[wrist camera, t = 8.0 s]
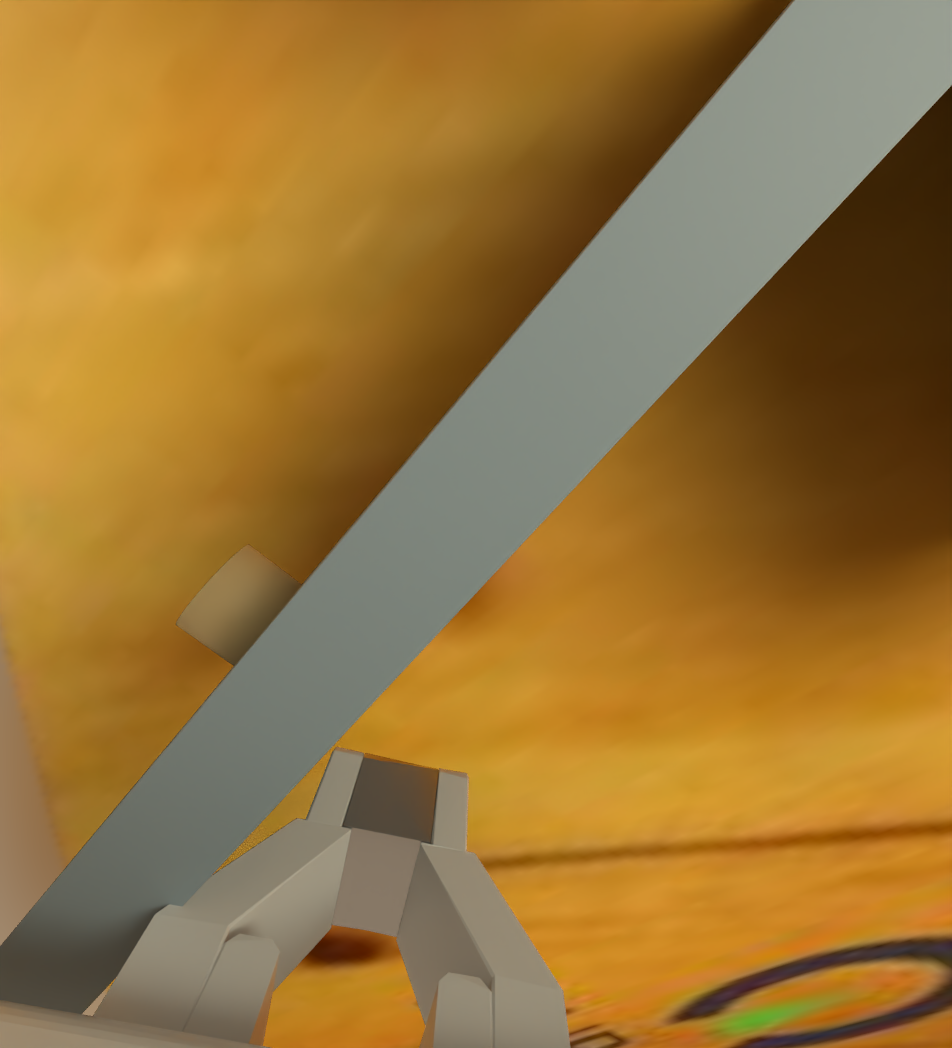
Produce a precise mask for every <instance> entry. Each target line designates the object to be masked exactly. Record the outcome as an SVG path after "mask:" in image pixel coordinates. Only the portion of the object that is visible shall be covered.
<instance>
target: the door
mask: <svg viewBox="0 0 952 1048" xmlns="http://www.w3.org/2000/svg"><path fill="white" fill-rule="evenodd" d="M951 85H952V0H792V1H791V2H790V3H789V4H788V6H787V7H786V8H785V9H784V10H783V12H782V13H781V14H780V15H779V16H778V18H777V19H776V20H775V21H774V22H773V24H772V25H771V26H770V27H769V28H768V29H767V31H766V32H765V33H764V34H763V35H762V37H761V38H760V39H759V40H758V41H757V43H756V44H755V45H754V46H753V47H752V49H751V50H750V51H749V52H748V53H747V55H746V56H745V57H744V58H743V59H742V60H741V62H740V63H739V64H738V65H737V66H736V68H735V69H734V70H733V71H732V72H731V74H730V75H729V76H728V77H727V78H726V80H725V81H724V82H723V83H722V84H721V86H720V87H719V88H718V89H717V90H716V91H715V93H714V94H713V95H712V96H711V97H710V99H709V100H708V101H707V102H706V103H705V105H704V106H703V107H702V108H701V109H700V111H699V112H698V113H697V114H696V115H695V117H694V118H693V119H692V120H691V121H690V122H689V124H688V125H687V126H686V127H685V128H684V130H683V131H682V132H681V133H680V134H679V136H678V137H677V138H676V139H675V140H674V142H673V143H672V144H671V145H670V146H669V148H668V149H667V150H666V151H665V152H664V153H663V155H662V156H661V157H660V158H659V159H658V161H657V162H656V163H655V164H654V165H653V167H652V168H651V169H650V170H649V171H648V173H647V174H646V175H645V176H644V177H643V179H642V180H641V181H640V182H639V183H638V184H637V186H636V187H635V188H634V189H633V190H632V192H631V193H630V194H629V195H628V196H627V198H626V199H625V200H624V201H623V202H622V204H621V205H620V206H619V207H618V208H617V210H616V211H615V212H614V213H613V214H612V215H611V217H610V218H609V219H608V220H607V221H606V223H605V224H604V225H603V226H602V227H601V229H600V230H599V231H598V232H597V233H596V235H595V236H594V237H593V238H592V239H591V241H590V242H589V243H588V244H587V245H586V247H585V248H584V249H583V250H582V251H581V252H580V254H579V255H578V256H577V257H576V258H575V260H574V261H573V262H572V263H571V264H570V266H569V267H568V268H567V269H566V270H565V272H564V273H563V274H562V275H561V276H560V278H559V279H558V280H557V281H556V282H555V283H554V285H553V286H552V287H551V288H550V289H549V291H548V292H547V293H546V294H545V295H544V297H543V298H542V299H541V300H540V301H539V303H538V304H537V305H536V306H535V307H534V309H533V310H532V311H531V312H530V313H529V314H528V316H527V317H526V318H525V319H524V320H523V322H522V323H521V324H520V325H519V326H518V328H517V329H516V330H515V331H514V332H513V334H512V335H511V336H510V337H509V338H508V340H507V341H506V342H505V343H504V344H503V345H502V347H501V348H500V349H499V350H498V351H497V353H496V354H495V355H494V356H493V357H492V359H491V360H490V361H489V362H488V363H487V365H486V366H485V367H484V368H483V369H482V371H481V372H480V373H479V374H478V375H477V376H476V378H475V379H474V380H473V381H472V382H471V384H470V385H469V386H468V387H467V388H466V390H465V391H464V392H463V393H462V394H461V396H460V397H459V398H458V399H457V400H456V402H455V403H454V404H453V405H452V406H451V407H450V409H449V410H448V411H447V412H446V413H445V415H444V416H443V417H442V418H441V419H440V421H439V422H438V423H437V424H436V425H435V427H434V428H433V429H432V430H431V431H430V433H429V434H428V435H427V436H426V437H425V438H424V440H423V441H422V442H421V443H420V444H419V446H418V447H417V448H416V449H415V450H414V452H413V453H412V454H411V455H410V456H409V458H408V459H407V460H406V461H405V462H404V464H403V465H402V466H401V467H400V468H399V470H398V471H397V472H396V473H395V474H394V475H393V477H392V478H391V479H390V480H389V481H388V483H387V484H386V485H385V486H384V487H383V489H382V490H381V491H380V492H379V493H378V495H377V496H376V497H375V498H374V499H373V501H372V502H371V503H370V504H369V505H368V506H367V508H366V509H365V510H364V511H363V512H362V514H361V515H360V516H359V517H358V518H357V520H356V521H355V522H354V523H353V524H352V526H351V527H350V528H349V529H348V530H347V532H346V533H345V534H344V535H343V536H342V537H341V539H340V540H339V541H338V542H337V543H336V545H335V546H334V547H333V548H332V549H331V551H330V552H329V553H328V554H327V555H326V557H325V558H324V559H323V560H322V561H321V563H320V564H319V565H318V566H317V567H316V568H315V570H314V571H313V572H312V573H311V574H310V576H309V577H308V578H307V579H306V580H305V582H304V583H303V584H300V583H299V582H298V581H296V580H295V579H294V578H292V577H291V576H290V575H288V574H287V573H286V572H285V571H283V570H282V569H281V568H279V567H278V566H277V565H275V564H274V563H273V562H271V561H270V560H269V559H267V558H266V557H265V556H263V555H262V554H261V553H259V552H258V551H257V550H256V549H254V548H253V547H252V546H250V545H246V546H245V547H243V548H242V549H241V550H239V551H238V552H237V553H236V554H235V555H234V556H233V557H231V558H230V559H229V560H228V561H227V562H226V563H225V564H224V565H223V566H222V567H221V568H220V569H219V570H218V571H217V572H216V573H215V575H214V576H213V577H212V578H211V579H210V580H209V581H208V582H207V583H206V584H205V585H204V587H203V588H202V589H201V590H200V591H199V592H198V594H197V595H196V596H195V597H194V598H193V600H192V601H191V602H190V603H189V604H188V606H187V607H186V608H185V610H184V611H183V612H182V614H181V615H180V617H179V619H178V620H177V622H176V625H177V626H178V627H180V628H181V629H183V630H184V631H186V632H187V633H188V634H190V635H191V636H193V637H194V638H195V639H197V640H198V641H200V642H201V643H202V644H204V645H205V646H207V647H208V648H209V649H211V650H212V651H214V652H215V653H217V654H218V655H219V656H221V657H222V658H224V659H225V660H226V661H228V662H229V663H231V664H232V665H233V666H234V667H233V668H232V669H231V670H230V671H229V673H228V674H227V675H226V676H225V677H224V679H223V680H222V681H221V682H220V683H219V685H218V686H217V687H216V688H215V689H214V691H213V692H212V693H211V694H210V695H209V697H208V698H207V699H206V700H205V701H204V703H203V704H202V705H201V706H200V707H199V709H198V710H197V711H196V712H195V713H194V715H193V716H192V717H191V718H190V719H189V720H188V722H187V723H186V724H185V725H184V726H183V728H182V729H181V730H180V731H179V732H178V734H177V735H176V736H175V737H174V738H173V740H172V741H171V742H170V743H169V744H168V746H167V747H166V748H165V749H164V750H163V752H162V753H161V754H160V755H159V756H158V758H157V759H156V760H155V761H154V762H153V764H152V765H151V766H150V767H149V768H148V770H147V771H146V772H145V773H144V774H143V776H142V777H141V778H140V779H139V780H138V782H137V783H136V784H135V785H134V786H133V788H132V789H131V790H130V791H129V792H128V794H127V795H126V796H125V797H124V798H123V800H122V801H121V802H120V803H119V804H118V806H117V807H116V808H115V809H114V810H113V812H112V813H111V814H110V815H109V816H108V818H107V819H106V820H105V821H104V822H103V824H102V825H101V826H100V827H99V828H98V830H97V831H96V832H95V833H94V834H93V836H92V837H91V838H90V839H89V840H88V842H87V843H86V844H85V845H84V846H83V848H82V849H81V850H80V851H79V852H78V854H77V855H76V856H75V857H74V858H73V860H72V861H71V862H70V863H69V864H68V866H67V867H66V868H65V869H64V870H63V872H62V873H61V874H60V875H59V876H58V878H57V879H56V880H55V881H54V882H53V884H52V885H51V886H50V887H49V888H48V890H47V891H46V892H45V893H44V894H43V896H42V897H41V898H40V899H39V900H38V902H37V903H36V904H35V905H34V906H33V908H32V909H31V910H30V911H29V913H28V914H27V915H26V916H25V917H24V918H23V920H22V921H21V922H20V923H19V925H18V926H17V927H16V928H15V929H14V930H13V932H12V933H11V934H10V935H9V937H8V938H7V939H6V940H5V941H4V942H3V944H2V945H1V946H0V1000H3V1001H9V1002H14V1003H20V1004H26V1005H31V1006H37V1007H43V1008H48V1009H54V1010H60V1011H65V1012H71V1013H77V1014H82V1013H83V1012H84V1011H85V1010H86V1009H87V1008H88V1007H89V1006H90V1005H91V1003H92V1002H93V1001H94V1000H95V999H96V998H97V997H98V996H99V995H100V994H101V993H102V992H103V991H104V990H105V989H106V988H107V986H108V985H109V984H110V983H111V982H112V981H113V980H114V979H115V978H116V977H117V976H118V974H119V972H120V971H121V969H122V968H123V966H124V964H125V963H126V961H127V959H128V958H129V956H130V954H131V953H132V951H133V950H134V948H135V946H136V945H137V943H138V941H139V940H140V938H141V936H142V935H143V933H144V932H145V930H146V928H147V927H148V925H149V923H150V922H151V920H152V918H153V917H154V915H155V914H156V913H157V912H159V911H160V910H162V909H163V908H165V907H166V906H168V905H169V904H170V905H176V906H183V905H184V904H185V903H186V902H187V901H188V900H189V899H190V898H191V897H192V896H193V895H194V894H195V893H196V891H197V890H198V889H199V888H200V887H201V886H202V885H203V884H204V883H205V882H206V881H207V880H208V879H209V878H210V876H211V875H212V874H213V873H214V872H215V871H216V870H217V869H218V868H219V867H220V866H221V865H222V864H223V863H224V862H225V860H226V859H227V858H228V857H229V856H230V855H231V854H232V853H233V852H234V851H235V850H236V849H237V848H238V847H239V846H240V844H241V843H242V842H243V841H244V840H245V839H246V838H247V837H248V836H249V835H250V834H251V833H252V832H253V831H254V830H255V828H256V827H257V826H258V825H259V824H260V823H261V822H262V821H263V820H264V819H265V818H266V817H267V816H268V815H269V814H270V812H271V811H272V810H273V809H274V808H275V807H276V806H277V805H278V804H279V803H280V802H281V801H282V800H283V799H284V797H285V796H286V795H287V794H288V793H289V792H290V791H291V790H292V789H293V788H294V787H295V786H296V785H297V784H298V783H299V781H300V780H301V779H302V778H303V777H304V776H305V775H306V774H307V773H308V772H309V771H310V770H311V769H312V768H313V767H314V765H315V764H316V763H317V762H318V761H319V760H320V759H321V758H322V757H323V756H324V755H325V754H326V753H327V752H328V751H329V749H330V748H331V747H332V746H333V745H334V744H335V743H336V742H337V741H338V740H339V739H340V738H341V737H342V736H343V735H344V733H345V732H346V731H347V730H348V729H349V728H350V727H351V726H352V725H353V724H354V723H355V722H356V721H357V720H358V718H359V717H360V716H361V715H362V714H363V713H364V712H365V711H366V710H367V709H368V708H369V707H370V706H371V705H372V704H373V702H374V701H375V700H376V699H377V698H378V697H379V696H380V695H381V694H382V693H383V692H384V691H385V690H386V689H387V688H388V686H389V685H390V684H391V683H392V682H393V681H394V680H395V679H396V678H397V677H398V676H399V675H400V674H401V673H402V672H403V670H404V669H405V668H406V667H407V666H408V665H409V664H410V663H411V662H412V661H413V660H414V659H415V658H416V657H417V656H418V654H419V653H420V652H421V651H422V650H423V649H424V648H425V647H426V646H427V645H428V644H429V643H430V642H431V641H432V639H433V638H434V637H435V636H436V635H437V634H438V633H439V632H440V631H441V630H442V629H443V628H444V627H445V626H446V625H447V623H448V622H449V621H450V620H451V619H452V618H453V617H454V616H455V615H456V614H457V613H458V612H459V611H460V610H461V609H462V607H463V606H464V605H465V604H466V603H467V602H468V601H469V600H470V599H471V598H472V597H473V596H474V595H475V594H476V593H477V591H478V590H479V589H480V588H481V587H482V586H483V585H484V584H485V583H486V582H487V581H488V580H489V579H490V578H491V577H492V575H493V574H494V573H495V572H496V571H497V570H498V569H499V568H500V567H501V566H502V565H503V564H504V563H505V562H506V560H507V559H508V558H509V557H510V556H511V555H512V554H513V553H514V552H515V551H516V550H517V549H518V548H519V547H520V546H521V544H522V543H523V542H524V541H525V540H526V539H527V538H528V537H529V536H530V535H531V534H532V533H533V532H534V531H535V530H536V528H537V527H538V526H539V525H540V524H541V523H542V522H543V521H544V520H545V519H546V518H547V517H548V516H549V515H550V514H551V512H552V511H553V510H554V509H555V508H556V507H557V506H558V505H559V504H560V503H561V502H562V501H563V500H564V499H565V498H566V496H567V495H568V494H569V493H570V492H571V491H572V490H573V489H574V488H575V487H576V486H577V485H578V484H579V483H580V481H581V480H582V479H583V478H584V477H585V476H586V475H587V474H588V473H589V472H590V471H591V470H592V469H593V468H594V467H595V465H596V464H597V463H598V462H599V461H600V460H601V459H602V458H603V457H604V456H605V455H606V454H607V453H608V452H609V451H610V449H611V448H612V447H613V446H614V445H615V444H616V443H617V442H618V441H619V440H620V439H621V438H622V437H623V436H624V435H625V433H626V432H627V431H628V430H629V429H630V428H631V427H632V426H633V425H634V424H635V423H636V422H637V421H638V420H639V418H640V417H641V416H642V415H643V414H644V413H645V412H646V411H647V410H648V409H649V408H650V407H651V406H652V405H653V404H654V402H655V401H656V400H657V399H658V398H659V397H660V396H661V395H662V394H663V393H664V392H665V391H666V390H667V389H668V388H669V386H670V385H671V384H672V383H673V382H674V381H675V380H676V379H677V378H678V377H679V376H680V375H681V374H682V373H683V372H684V370H685V369H686V368H687V367H688V366H689V365H690V364H691V363H692V362H693V361H694V360H695V359H696V358H697V357H698V356H699V354H700V353H701V352H702V351H703V350H704V349H705V348H706V347H707V346H708V345H709V344H710V343H711V342H712V341H713V339H714V338H715V337H716V336H717V335H718V334H719V333H720V332H721V331H722V330H723V329H724V328H725V327H726V326H727V325H728V323H729V322H730V321H731V320H732V319H733V318H734V317H735V316H736V315H737V314H738V313H739V312H740V311H741V310H742V309H743V307H744V306H745V305H746V304H747V303H748V302H749V301H750V300H751V299H752V298H753V297H754V296H755V295H756V294H757V293H758V291H759V290H760V289H761V288H762V287H763V286H764V285H765V284H766V283H767V282H768V281H769V280H770V279H771V278H772V277H773V275H774V274H775V273H776V272H777V271H778V270H779V269H780V268H781V267H782V266H783V265H784V264H785V263H786V262H787V260H788V259H789V258H790V257H791V256H792V255H793V254H794V253H795V252H796V251H797V250H798V249H799V248H800V247H801V246H802V244H803V243H804V242H805V241H806V240H807V239H808V238H809V237H810V236H811V235H812V234H813V233H814V232H815V231H816V230H817V228H818V227H819V226H820V225H821V224H822V223H823V222H824V221H825V220H826V219H827V218H828V217H829V216H830V215H831V214H832V212H833V211H834V210H835V209H836V208H837V207H838V206H839V205H840V204H841V203H842V202H843V201H844V200H845V199H846V198H847V196H848V195H849V194H850V193H851V192H852V191H853V190H854V189H855V188H856V187H857V186H858V185H859V184H860V183H861V181H862V180H863V179H864V178H865V177H866V176H867V175H868V174H869V173H870V172H871V171H872V170H873V169H874V168H875V167H876V165H877V164H878V163H879V162H880V161H881V160H882V159H883V158H884V157H885V156H886V155H887V154H888V153H889V152H890V151H891V149H892V148H893V147H894V146H895V145H896V144H897V143H898V142H899V141H900V140H901V139H902V138H903V137H904V136H905V135H906V133H907V132H908V131H909V130H910V129H911V128H912V127H913V126H914V125H915V124H916V123H917V122H918V121H919V120H920V119H921V117H922V116H923V115H924V114H925V113H926V112H927V111H928V110H929V109H930V108H931V107H932V106H933V105H934V104H935V102H936V101H937V100H938V99H939V98H940V97H941V96H942V95H943V94H944V93H945V92H946V91H947V90H948V89H949V88H950V86H951Z"/></svg>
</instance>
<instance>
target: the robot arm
mask: <svg viewBox="0 0 952 1048" xmlns="http://www.w3.org/2000/svg"><path fill="white" fill-rule="evenodd" d="M468 785H469V777H468V775H467V773H463V772H457V771H451V770H446V769H440V768H439V770H438V769H436V768H431V767H426V766H421V765H416V764H412V763H407V762H403V761H399V760H394V759H390V758H386V757H381V756H377V755H373V754H368V753H365V754H364V753H362V752H357V751H353V750H348V749H344V748H339V747H336V748H335V749H334V751H333V752H332V754H331V757H330V759H329V762H328V764H327V767H326V769H325V772H324V774H323V777H322V779H321V782H320V784H319V787H318V790H317V792H316V795H315V797H314V800H313V802H312V805H311V807H310V810H309V812H308V815H307V817H306V820H304V819H299V818H296V819H294V820H293V821H291V822H290V823H288V824H287V825H286V826H284V827H283V828H281V829H280V830H278V831H277V832H275V833H274V834H272V835H271V836H269V837H268V838H266V839H265V840H263V841H262V842H260V843H259V844H258V845H256V846H255V847H253V848H252V849H250V850H249V851H247V852H246V853H244V854H243V855H241V856H240V857H238V858H237V859H235V860H234V861H232V862H231V863H230V864H228V865H227V866H225V867H224V868H222V869H221V870H219V871H218V872H216V873H215V874H213V875H212V876H210V878H209V879H208V880H207V881H206V882H205V883H204V884H203V885H202V886H201V887H200V888H199V889H198V890H197V891H196V893H195V894H194V895H193V896H192V897H191V898H190V899H189V900H188V901H187V902H186V903H185V904H184V905H183V906H176V905H170V904H169V905H168V906H166V907H165V908H163V909H162V910H160V911H159V912H157V913H156V914H155V915H154V917H153V918H152V920H151V922H150V923H149V925H148V927H147V928H146V930H145V932H144V933H143V935H142V936H141V938H140V940H139V941H138V943H137V945H136V946H135V948H134V950H133V951H132V953H131V954H130V956H129V958H128V959H127V961H126V963H125V964H124V966H123V968H122V969H121V971H120V972H119V974H118V976H117V977H116V979H115V981H114V982H113V984H112V986H111V987H110V989H109V990H108V992H107V994H106V995H105V997H104V999H103V1000H102V1002H101V1004H100V1005H99V1007H98V1009H97V1010H96V1012H95V1014H94V1015H93V1016H88V1015H82V1014H77V1013H71V1012H65V1011H60V1010H54V1009H48V1008H43V1007H37V1006H31V1005H26V1004H20V1003H14V1002H9V1001H3V1000H0V1048H270V1047H264V1046H263V1041H264V1036H265V1030H266V1025H267V1020H268V1014H269V1009H270V1003H271V998H272V993H273V991H274V990H275V989H276V988H277V987H278V986H279V985H280V984H281V983H282V982H283V980H284V979H285V978H286V977H287V976H288V975H289V974H290V973H291V972H292V971H293V969H294V968H295V967H296V966H297V965H298V964H299V963H300V962H301V961H302V960H303V959H304V957H305V956H306V955H307V954H308V953H309V952H310V951H311V950H312V949H313V948H314V946H315V945H316V944H317V943H318V942H319V941H320V940H321V939H322V938H323V937H324V935H325V934H326V933H327V932H328V931H329V930H330V929H331V925H336V926H343V927H349V928H356V929H362V930H367V931H372V932H376V933H381V934H385V935H390V936H394V937H397V943H398V946H399V949H400V952H401V955H402V958H403V961H404V964H405V967H406V970H407V973H408V976H409V979H410V982H411V984H412V987H413V990H414V993H415V996H416V999H417V1002H418V1005H419V1008H420V1011H421V1014H422V1017H423V1020H424V1023H425V1026H426V1027H425V1030H424V1033H423V1037H422V1040H421V1044H420V1047H419V1048H570V1041H569V1033H568V1026H567V1018H566V1010H565V1003H564V995H563V990H562V989H561V987H560V986H559V984H558V982H557V981H556V979H555V978H554V976H553V975H552V973H551V971H550V970H549V968H548V967H547V965H546V964H545V962H544V960H543V959H542V957H541V956H540V954H539V953H538V951H537V949H536V948H535V946H534V945H533V943H532V942H531V940H530V938H529V937H528V935H527V934H526V932H525V931H524V929H523V927H522V926H521V924H520V923H519V921H518V920H517V918H516V916H515V915H514V913H513V912H512V910H511V909H510V907H509V906H508V904H507V902H506V901H505V899H504V898H503V896H502V895H501V893H500V891H499V890H498V888H497V887H496V885H495V884H494V882H493V880H492V879H491V877H490V876H489V874H488V873H487V871H486V869H485V868H484V866H483V865H482V863H481V862H480V860H479V858H478V857H477V855H476V854H475V853H472V852H467V851H466V849H467V817H468Z"/></svg>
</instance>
